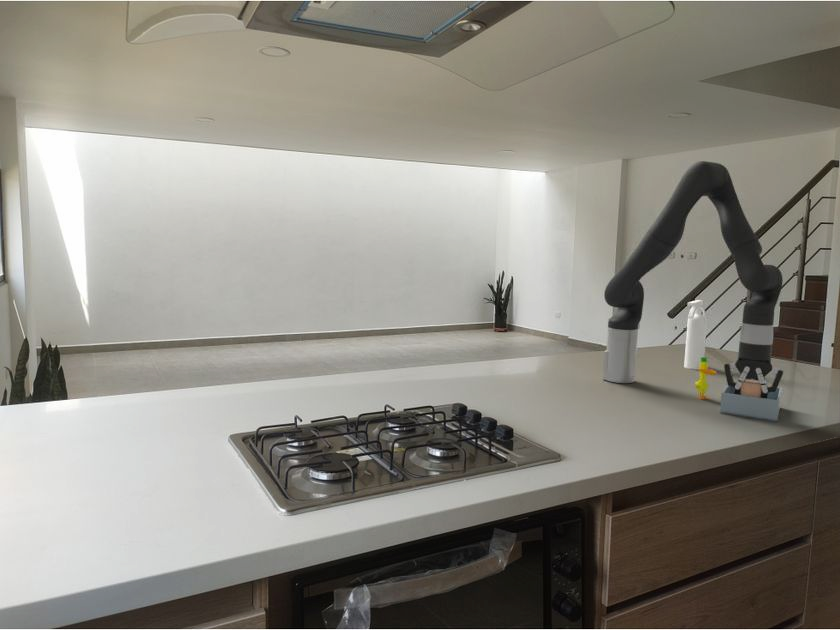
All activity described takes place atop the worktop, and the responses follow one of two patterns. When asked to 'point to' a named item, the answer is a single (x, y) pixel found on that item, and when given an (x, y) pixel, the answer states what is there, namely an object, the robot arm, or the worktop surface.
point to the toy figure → (703, 377)
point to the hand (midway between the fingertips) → (749, 404)
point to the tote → (751, 404)
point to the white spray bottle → (695, 335)
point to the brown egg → (751, 388)
